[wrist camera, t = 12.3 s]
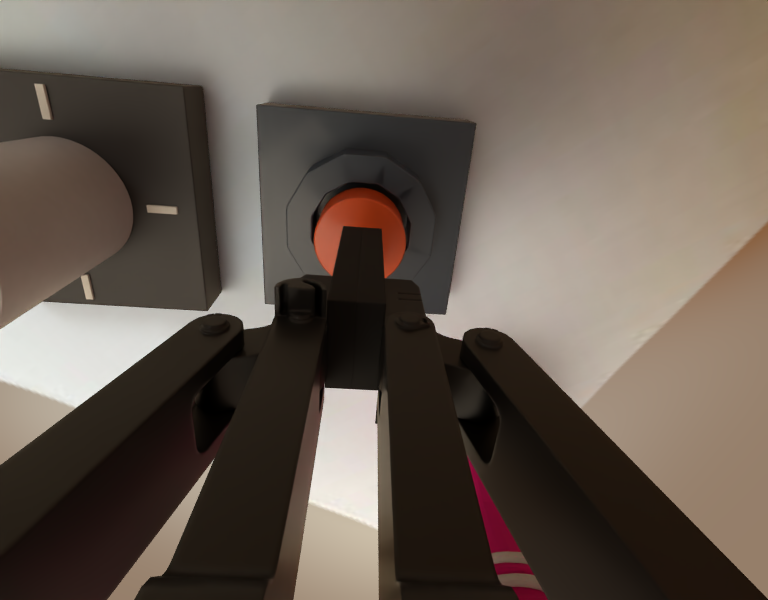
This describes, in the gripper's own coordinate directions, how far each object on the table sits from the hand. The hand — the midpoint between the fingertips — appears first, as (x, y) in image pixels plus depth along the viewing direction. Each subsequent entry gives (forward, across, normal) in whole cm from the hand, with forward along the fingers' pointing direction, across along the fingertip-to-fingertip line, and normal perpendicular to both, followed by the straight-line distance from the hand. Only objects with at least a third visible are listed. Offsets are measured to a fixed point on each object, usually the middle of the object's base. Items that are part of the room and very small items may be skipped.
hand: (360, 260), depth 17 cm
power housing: (+7, 0, 0) cm, 7 cm away
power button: (+4, 0, 0) cm, 4 cm away
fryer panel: (+7, -14, 0) cm, 16 cm away
